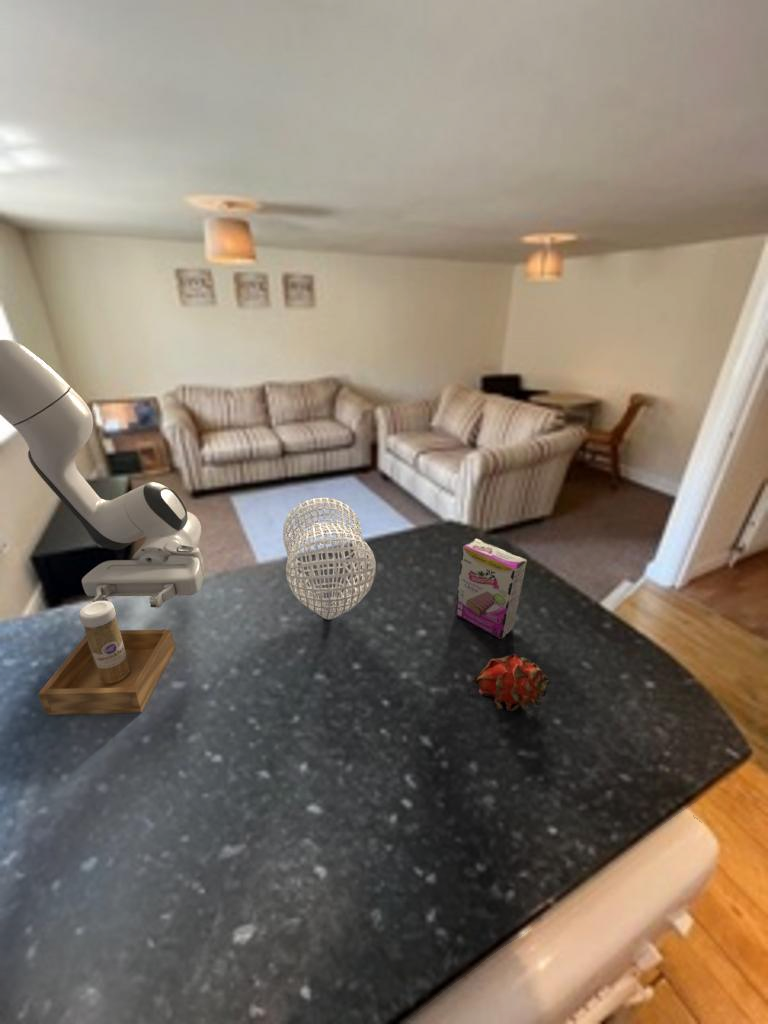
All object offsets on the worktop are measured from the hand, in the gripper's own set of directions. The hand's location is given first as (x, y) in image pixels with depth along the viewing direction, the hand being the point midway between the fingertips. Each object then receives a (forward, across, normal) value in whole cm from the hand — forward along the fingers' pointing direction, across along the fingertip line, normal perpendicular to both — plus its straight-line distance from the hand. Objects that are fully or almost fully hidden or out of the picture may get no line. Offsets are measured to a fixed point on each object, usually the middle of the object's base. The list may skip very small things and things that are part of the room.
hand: (125, 604), depth 77 cm
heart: (-9, +34, +10) cm, 36 cm away
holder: (+7, 0, +9) cm, 12 cm away
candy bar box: (-6, +65, +10) cm, 66 cm away
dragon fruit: (+13, +64, +10) cm, 66 cm away
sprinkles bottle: (+7, 0, +9) cm, 11 cm away
